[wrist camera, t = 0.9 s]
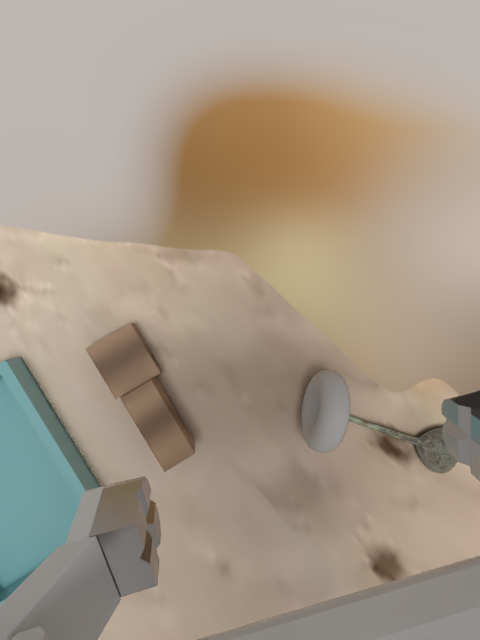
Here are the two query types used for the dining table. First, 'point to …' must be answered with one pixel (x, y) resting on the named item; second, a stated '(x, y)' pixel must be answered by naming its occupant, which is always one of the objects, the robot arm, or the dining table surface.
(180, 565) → the dining table surface
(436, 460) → the soupspoon
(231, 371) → the dining table surface
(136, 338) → the stepped brown block
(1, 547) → the serving bin
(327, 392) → the donut
